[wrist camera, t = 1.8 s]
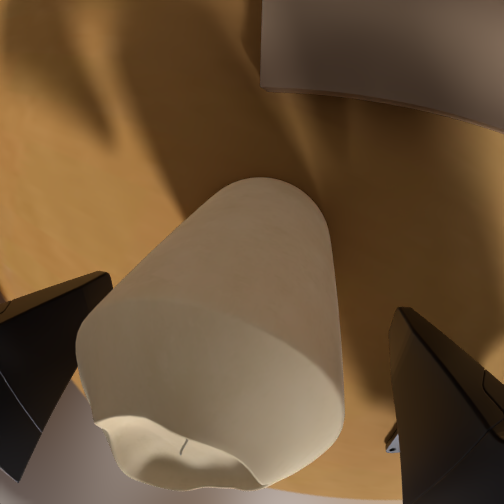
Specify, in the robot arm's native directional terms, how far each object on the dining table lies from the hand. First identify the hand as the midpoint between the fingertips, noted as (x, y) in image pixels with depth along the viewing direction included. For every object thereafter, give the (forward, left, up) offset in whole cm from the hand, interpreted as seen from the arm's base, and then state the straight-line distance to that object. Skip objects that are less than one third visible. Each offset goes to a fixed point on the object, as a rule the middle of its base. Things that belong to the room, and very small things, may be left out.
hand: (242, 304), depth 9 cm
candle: (0, 0, -5) cm, 5 cm away
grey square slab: (+12, -6, -4) cm, 14 cm away
